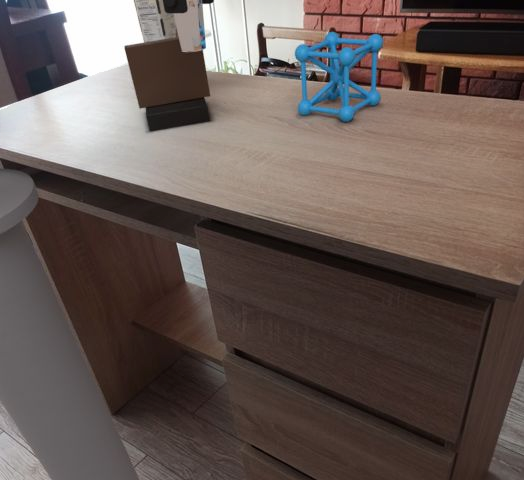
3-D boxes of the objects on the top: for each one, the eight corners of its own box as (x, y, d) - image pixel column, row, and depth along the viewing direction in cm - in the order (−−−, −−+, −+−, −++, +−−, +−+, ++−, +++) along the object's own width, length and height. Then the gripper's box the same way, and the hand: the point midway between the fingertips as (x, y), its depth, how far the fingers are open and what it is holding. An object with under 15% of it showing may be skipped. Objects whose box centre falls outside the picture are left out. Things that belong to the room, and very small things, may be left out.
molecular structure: (383, 104, 83) (386, 32, 76) (348, 125, 78) (349, 50, 71) (330, 97, 88) (329, 29, 82) (295, 116, 83) (291, 45, 76)
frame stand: (149, 131, 85) (145, 115, 83) (148, 113, 92) (144, 98, 91) (209, 121, 86) (207, 105, 84) (203, 103, 93) (201, 88, 91)
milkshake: (212, 52, 65) (198, -48, 59) (172, 54, 66) (154, -43, 60) (221, 44, 69) (209, -52, 62) (182, 46, 70) (166, -47, 63)
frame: (139, 108, 86) (123, 46, 80) (139, 105, 87) (123, 43, 81) (210, 96, 87) (200, 33, 81) (209, 93, 88) (199, 31, 82)
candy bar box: (177, 78, 108) (158, -17, 97) (199, 77, 107) (182, -20, 96) (154, 95, 100) (131, -6, 89) (177, 95, 99) (157, -8, 88)
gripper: (178, -197, 59) (205, -5, 71) (67, -201, 49) (121, 23, 61) (232, -210, 56) (251, -6, 68) (125, -217, 46) (170, 24, 58)
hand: (189, 6), depth 64 cm, fingers closed on milkshake, 4 cm apart
